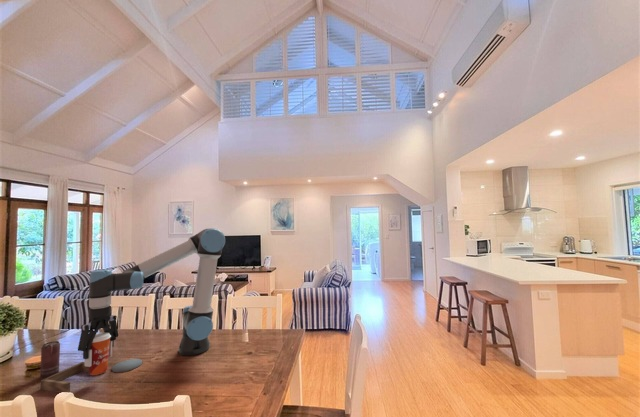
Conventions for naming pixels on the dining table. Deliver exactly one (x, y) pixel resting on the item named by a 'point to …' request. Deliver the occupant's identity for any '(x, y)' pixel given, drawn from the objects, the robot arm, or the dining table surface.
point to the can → (50, 359)
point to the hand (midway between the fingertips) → (98, 360)
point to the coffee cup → (100, 353)
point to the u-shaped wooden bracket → (62, 378)
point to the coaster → (127, 365)
